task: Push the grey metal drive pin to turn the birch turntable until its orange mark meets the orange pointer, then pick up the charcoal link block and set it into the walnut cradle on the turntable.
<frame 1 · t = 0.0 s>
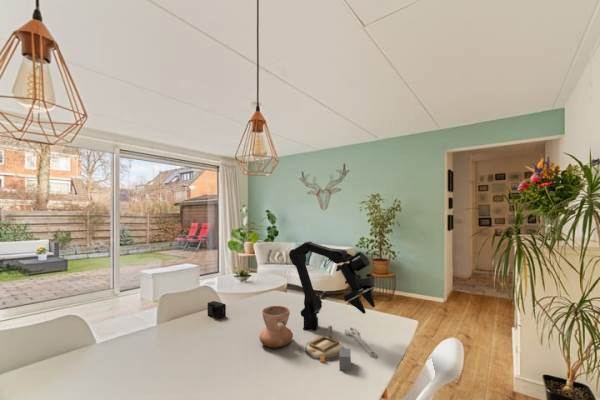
hand: (369, 310, 115), 15 cm above the table, tool tilted 35°, fingers open, 9 cm apart
ceramic jug: (276, 342, 120), on the table
index disc: (324, 340, 112), point 4 cm above the table, hinge at -35.0°
digital camera: (215, 316, 151), on the table
adjustable wrench: (358, 343, 118), on the table
turntable base: (324, 350, 112), on the table
link block: (345, 366, 100), on the table
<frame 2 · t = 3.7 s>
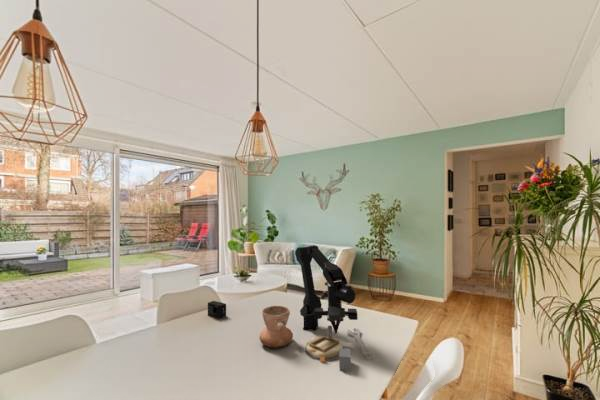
hand: (336, 333, 118), 4 cm above the table, tool pointing down, fingers closed
index disc: (324, 340, 112), point 4 cm above the table, hinge at -34.3°, touching gripper
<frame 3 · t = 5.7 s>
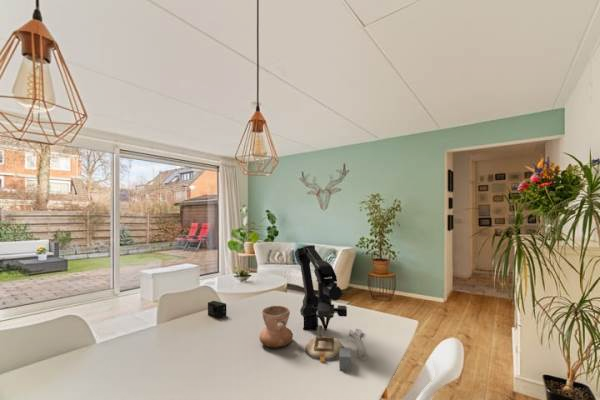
hand: (325, 330, 119), 5 cm above the table, tool pointing down, fingers closed
index disc: (324, 340, 112), point 4 cm above the table, hinge at 1.9°
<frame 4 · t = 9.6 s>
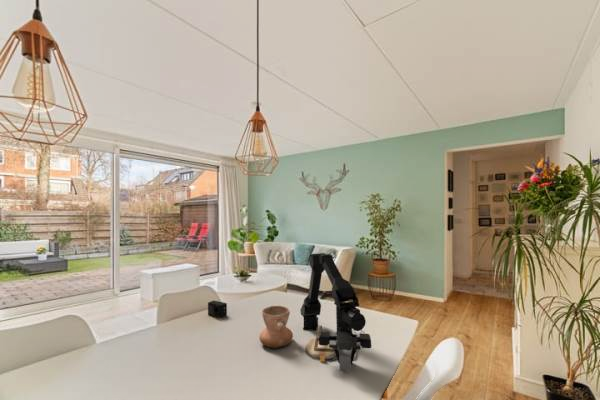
hand: (345, 363, 100), 1 cm above the table, tool pointing down, fingers closed on link block, 4 cm apart
adjustable wrench: (354, 345, 117), on the table
link block: (345, 366, 100), on the table, touching gripper
when the fingers open (4 cm above the table, at t = 13.7 s): link block drops 1 cm, resting on index disc.
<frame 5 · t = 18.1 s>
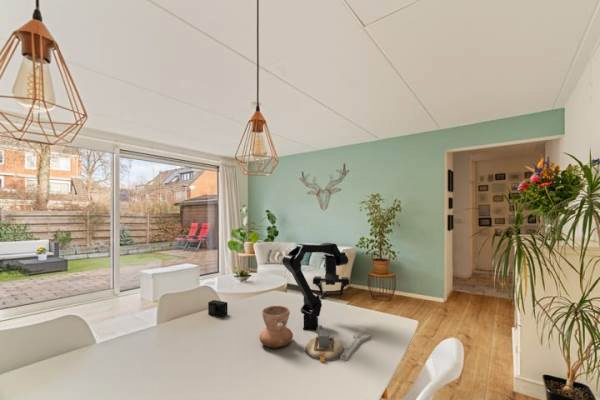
hand: (331, 297, 143), 12 cm above the table, tool pointing down, fingers open, 9 cm apart
index disc: (324, 340, 112), point 4 cm above the table, hinge at 1.9°, touching link block
adjustable wrench: (353, 347, 115), on the table
link block: (324, 345, 112), point 2 cm above the table, touching index disc
at the end: index disc at +2° (first picture: -35°); link block 0.0 cm off-centre on the index disc, point 2.0 cm above the index disc's base; link block tilted 0° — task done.
